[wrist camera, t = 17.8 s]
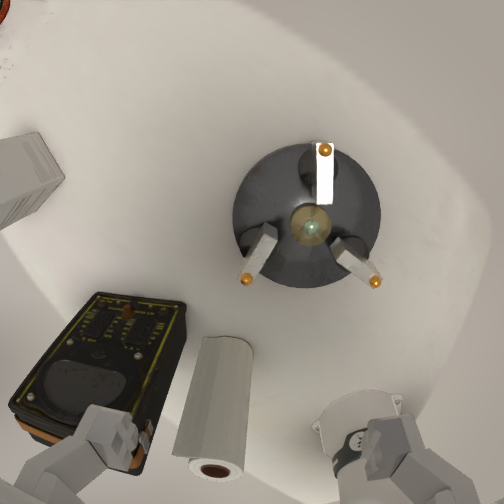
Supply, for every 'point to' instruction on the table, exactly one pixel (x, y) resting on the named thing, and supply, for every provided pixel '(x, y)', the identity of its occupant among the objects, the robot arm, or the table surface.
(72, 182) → the table surface
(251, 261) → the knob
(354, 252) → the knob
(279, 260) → the plate
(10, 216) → the supplement box
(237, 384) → the paper towel roll
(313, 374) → the table surface
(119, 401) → the voltmeter
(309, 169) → the grey lever knob
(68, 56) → the table surface
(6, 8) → the canned food
